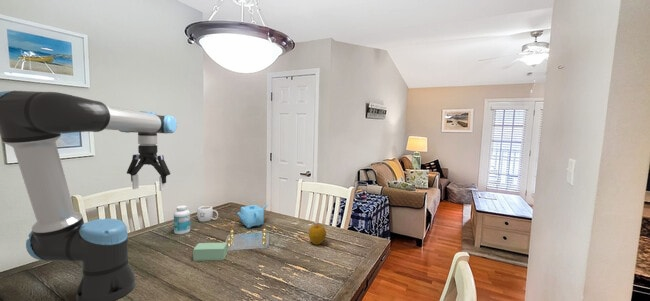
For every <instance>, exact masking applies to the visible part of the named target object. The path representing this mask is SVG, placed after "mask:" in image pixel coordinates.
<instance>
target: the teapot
mask: <svg viewBox="0 0 650 301" xmlns="http://www.w3.org/2000/svg"><path fill="white" fill-rule="evenodd" d="M266 207H268V204H266V205H263V207H260V206H259V205H257V204H250V205H246V206H241V207H240V211H238V212H237V213H236V215H238V216H239V218H240V222H241V223H242V225H243V226H245V227H246V229H252V227H261V226H262V225H264V222H265V221H264V214H265V209H266ZM260 225H261V226H260Z"/></svg>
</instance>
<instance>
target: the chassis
mask: <svg viewBox="0 0 650 301" xmlns="http://www.w3.org/2000/svg"><path fill="white" fill-rule="evenodd" d="M229 230H230V233H229V234H228V235H226V239H225V242H224V243H227V251H238V250H256V249H259V248H260V249H269V247H270V232H267V228H263V229H262V232H260V233H259V232H258V233H254V232H253V233H238V234H237V233H236V234H234V233H235V230H234V229H229Z"/></svg>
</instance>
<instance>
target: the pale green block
mask: <svg viewBox="0 0 650 301" xmlns="http://www.w3.org/2000/svg"><path fill="white" fill-rule="evenodd" d="M192 251H193V252H192V253H193V254H192V255H193V257H192V258H193V262H195V261H197V262H198V261H199V262H200V261H223V260H224V261H225V259H226V256H227V254H228V250H227V243H225V242H200V243H197V244H196V245H195V247H194V248H193V250H192Z"/></svg>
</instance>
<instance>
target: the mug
mask: <svg viewBox="0 0 650 301" xmlns="http://www.w3.org/2000/svg"><path fill="white" fill-rule="evenodd" d="M196 210H197V211H196V215H197V219H198V221H199V222H203V223H206V222H209V221H211V220H217V219H218V218H219V212H218V211H217V210H215V209H213V206H212V205H202V206H201V205H200V206H199V207H197V209H196ZM214 213H216V217H215V218H214V217H213V215H214Z"/></svg>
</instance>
